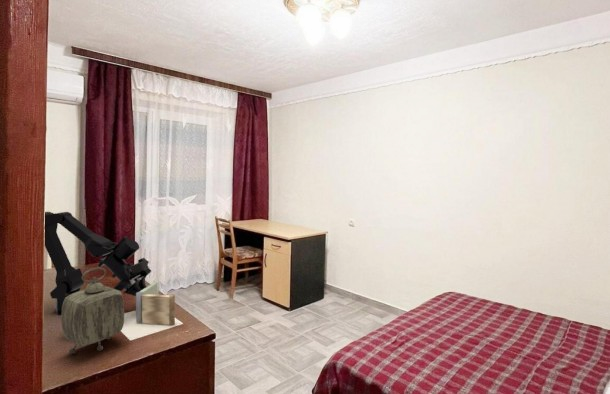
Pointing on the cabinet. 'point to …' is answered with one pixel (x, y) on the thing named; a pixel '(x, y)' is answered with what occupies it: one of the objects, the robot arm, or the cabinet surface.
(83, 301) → the tabletop clock
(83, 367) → the cabinet surface
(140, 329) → the card
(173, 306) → the brown flat square block
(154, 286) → the folding fence panel
